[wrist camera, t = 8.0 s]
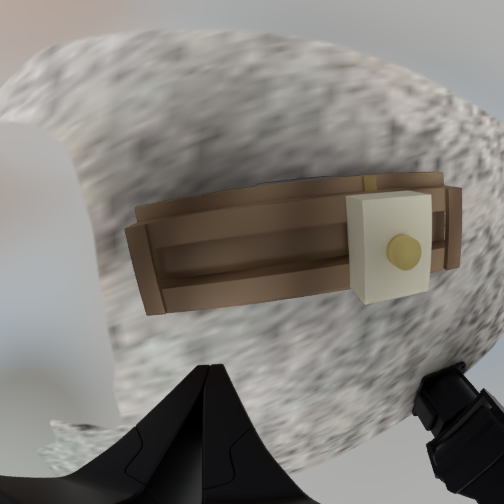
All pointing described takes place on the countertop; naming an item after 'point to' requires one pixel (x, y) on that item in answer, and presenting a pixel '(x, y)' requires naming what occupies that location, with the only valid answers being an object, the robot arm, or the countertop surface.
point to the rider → (389, 244)
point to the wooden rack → (269, 240)
